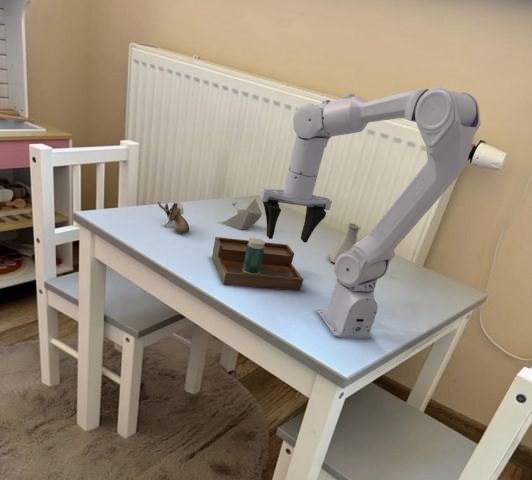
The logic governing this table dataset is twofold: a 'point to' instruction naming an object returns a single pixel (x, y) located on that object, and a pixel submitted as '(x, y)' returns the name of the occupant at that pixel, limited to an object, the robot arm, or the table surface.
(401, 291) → the table surface
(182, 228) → the eagle figurine
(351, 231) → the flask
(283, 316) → the table surface
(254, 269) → the cylinder
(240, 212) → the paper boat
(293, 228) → the table surface
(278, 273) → the spice shelf
